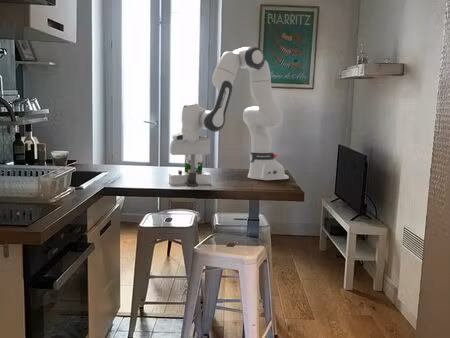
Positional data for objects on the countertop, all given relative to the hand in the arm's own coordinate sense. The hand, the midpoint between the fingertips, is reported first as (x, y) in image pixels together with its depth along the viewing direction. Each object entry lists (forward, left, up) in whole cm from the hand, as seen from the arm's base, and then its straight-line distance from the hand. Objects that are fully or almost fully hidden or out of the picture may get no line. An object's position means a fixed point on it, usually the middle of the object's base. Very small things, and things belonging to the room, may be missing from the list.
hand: (190, 163), depth 251 cm
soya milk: (-4, -10, -10) cm, 15 cm away
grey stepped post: (0, +7, -10) cm, 12 cm away
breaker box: (0, 0, -10) cm, 10 cm away
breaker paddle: (0, 0, -5) cm, 5 cm away
